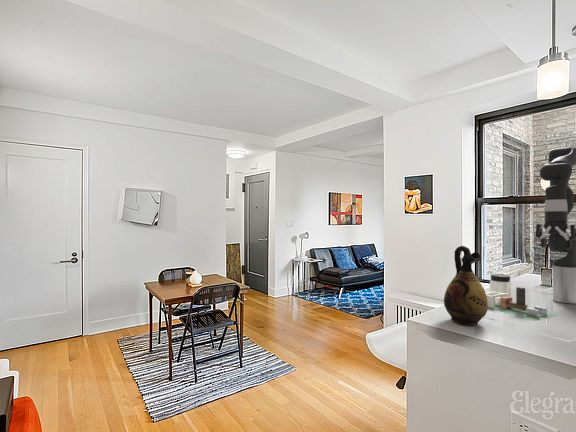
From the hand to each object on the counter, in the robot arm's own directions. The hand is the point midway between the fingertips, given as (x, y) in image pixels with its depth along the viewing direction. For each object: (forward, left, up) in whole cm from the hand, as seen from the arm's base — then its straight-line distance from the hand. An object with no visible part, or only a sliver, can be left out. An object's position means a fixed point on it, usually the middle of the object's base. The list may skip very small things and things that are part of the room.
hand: (555, 248), depth 138 cm
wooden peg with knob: (+11, -10, -27) cm, 31 cm away
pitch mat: (+11, -10, -28) cm, 32 cm away
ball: (+11, -17, -26) cm, 33 cm away
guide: (+11, -1, -28) cm, 30 cm away
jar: (-4, -26, -28) cm, 39 cm away
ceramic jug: (+44, -10, -28) cm, 53 cm away
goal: (+11, -19, -28) cm, 35 cm away
